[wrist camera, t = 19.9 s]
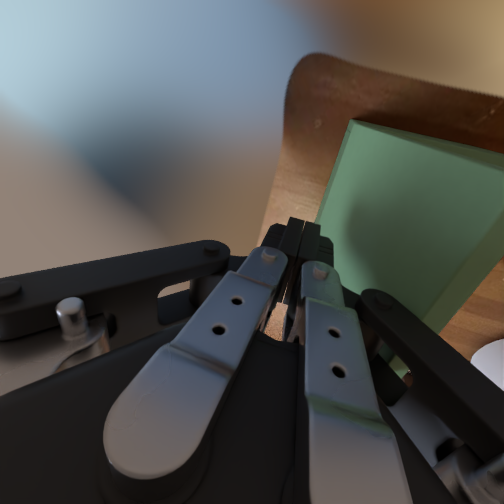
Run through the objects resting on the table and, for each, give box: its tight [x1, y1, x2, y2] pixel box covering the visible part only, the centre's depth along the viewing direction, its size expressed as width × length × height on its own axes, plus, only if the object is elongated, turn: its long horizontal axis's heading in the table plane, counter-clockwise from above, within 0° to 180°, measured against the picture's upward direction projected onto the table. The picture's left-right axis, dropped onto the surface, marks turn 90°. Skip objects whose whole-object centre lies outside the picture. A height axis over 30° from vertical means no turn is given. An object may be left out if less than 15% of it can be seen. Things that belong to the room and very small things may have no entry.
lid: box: [318, 123, 504, 379], centre depth 13 cm, size 11×11×1 cm
